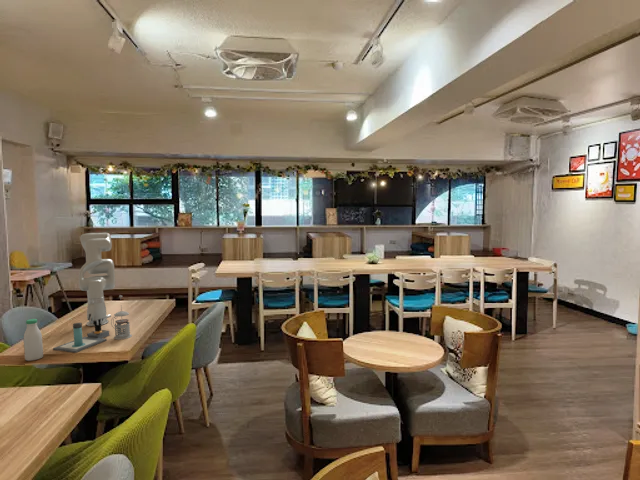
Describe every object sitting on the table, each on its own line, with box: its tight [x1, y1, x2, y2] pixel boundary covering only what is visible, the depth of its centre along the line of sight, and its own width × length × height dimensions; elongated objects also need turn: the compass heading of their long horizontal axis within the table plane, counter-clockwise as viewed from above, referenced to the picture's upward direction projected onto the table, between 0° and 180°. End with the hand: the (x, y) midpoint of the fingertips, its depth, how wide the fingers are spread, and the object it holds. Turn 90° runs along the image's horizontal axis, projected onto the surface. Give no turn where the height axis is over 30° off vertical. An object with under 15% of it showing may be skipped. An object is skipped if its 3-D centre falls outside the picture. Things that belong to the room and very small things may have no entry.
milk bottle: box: [23, 318, 44, 362], centre depth 205 cm, size 8×8×20 cm
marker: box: [72, 322, 83, 346], centre depth 221 cm, size 4×4×12 cm
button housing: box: [86, 329, 110, 339], centre depth 238 cm, size 8×8×3 cm
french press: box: [110, 294, 133, 341], centre depth 237 cm, size 10×12×25 cm
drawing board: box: [52, 336, 107, 353], centre depth 225 cm, size 20×16×1 cm
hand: (98, 330), depth 239 cm, fingers closed
